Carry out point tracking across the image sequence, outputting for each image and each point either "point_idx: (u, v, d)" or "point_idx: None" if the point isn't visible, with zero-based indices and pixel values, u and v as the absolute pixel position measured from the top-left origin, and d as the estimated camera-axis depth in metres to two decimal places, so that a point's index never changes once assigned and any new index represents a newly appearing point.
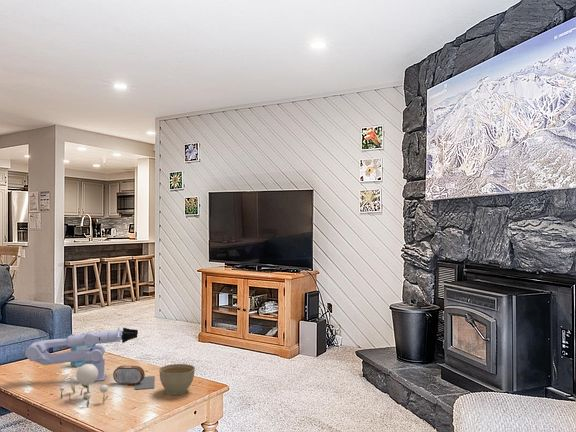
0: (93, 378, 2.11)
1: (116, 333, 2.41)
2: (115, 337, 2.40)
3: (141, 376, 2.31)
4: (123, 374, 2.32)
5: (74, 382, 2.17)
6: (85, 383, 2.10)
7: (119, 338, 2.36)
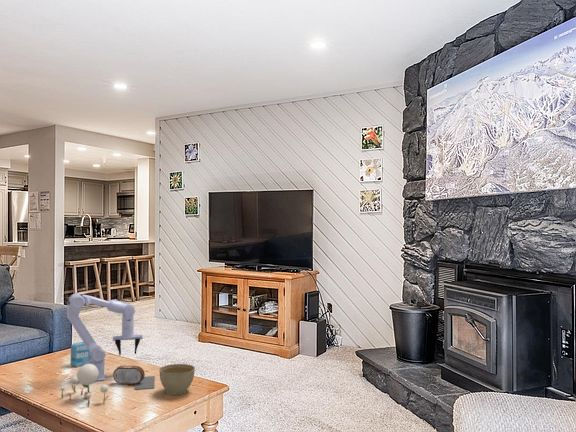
0: (93, 378, 2.11)
1: None
2: (133, 333, 2.49)
3: (141, 376, 2.31)
4: (123, 374, 2.32)
5: (75, 382, 2.17)
6: (86, 383, 2.10)
7: None
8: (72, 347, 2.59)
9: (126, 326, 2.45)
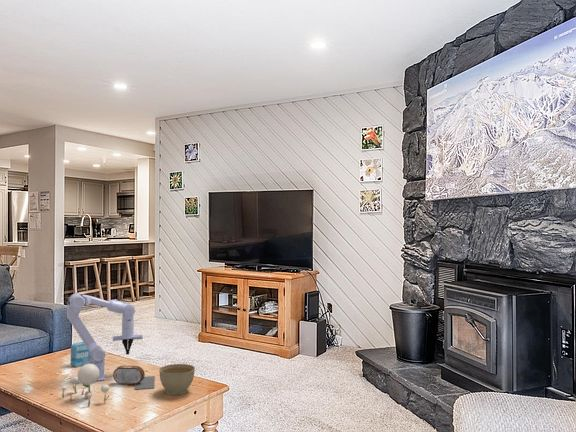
0: (94, 378, 2.11)
1: None
2: (133, 333, 2.49)
3: (141, 376, 2.31)
4: (123, 374, 2.32)
5: (75, 382, 2.18)
6: (86, 383, 2.10)
7: (142, 337, 2.50)
8: (72, 347, 2.59)
9: (126, 326, 2.45)
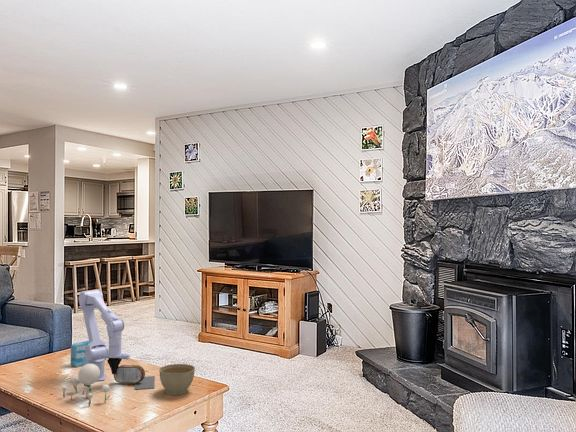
0: (95, 378, 2.12)
1: (120, 352, 2.32)
2: (120, 352, 2.31)
3: (141, 375, 2.31)
4: (124, 373, 2.32)
5: (76, 382, 2.18)
6: (87, 383, 2.10)
7: (129, 357, 2.30)
8: (72, 347, 2.59)
9: None
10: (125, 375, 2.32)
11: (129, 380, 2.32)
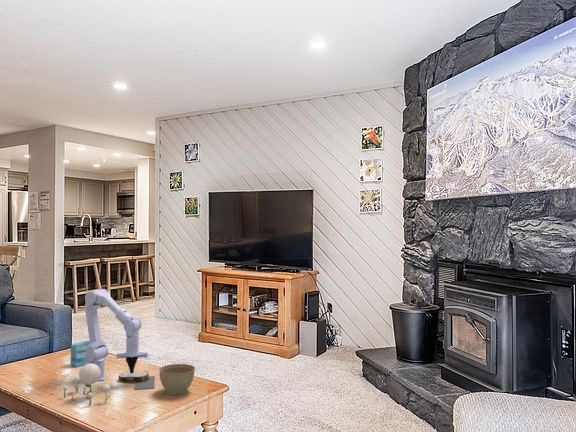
0: (95, 378, 2.12)
1: None
2: None
3: (146, 375, 2.38)
4: (130, 374, 2.39)
5: (77, 381, 2.18)
6: (87, 383, 2.11)
7: (147, 355, 2.34)
8: (72, 347, 2.59)
9: (126, 343, 2.31)
10: (130, 374, 2.38)
11: (132, 376, 2.36)
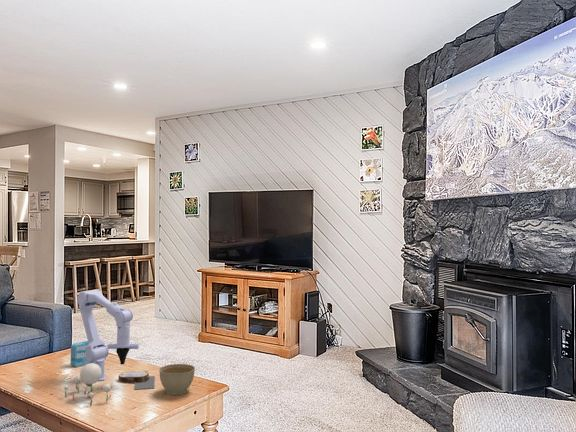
0: (96, 377, 2.12)
1: None
2: (128, 342, 2.32)
3: (146, 375, 2.38)
4: (130, 374, 2.39)
5: (78, 381, 2.19)
6: (89, 382, 2.11)
7: (138, 346, 2.32)
8: (72, 347, 2.59)
9: (117, 333, 2.31)
10: (130, 374, 2.38)
11: (132, 376, 2.36)
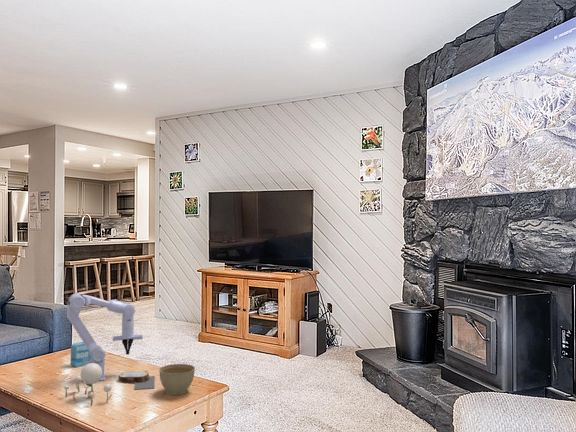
0: (97, 377, 2.12)
1: None
2: (133, 333, 2.49)
3: (146, 375, 2.38)
4: (130, 374, 2.39)
5: (79, 381, 2.19)
6: (89, 382, 2.11)
7: (142, 337, 2.50)
8: (72, 347, 2.59)
9: (126, 326, 2.45)
10: (130, 374, 2.38)
11: (132, 376, 2.36)
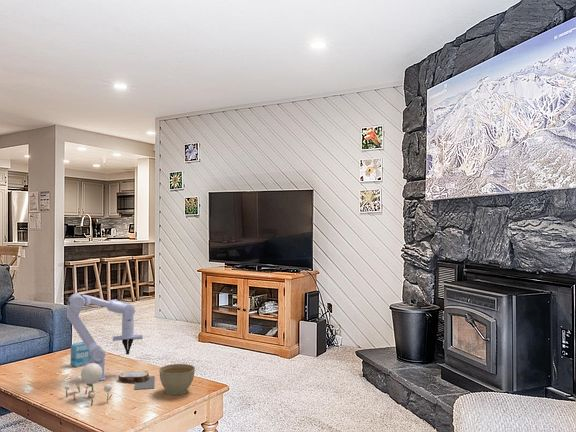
0: (97, 377, 2.12)
1: None
2: (133, 333, 2.49)
3: (146, 375, 2.38)
4: (130, 374, 2.39)
5: (79, 381, 2.19)
6: (89, 382, 2.11)
7: (142, 337, 2.50)
8: (72, 347, 2.59)
9: (126, 326, 2.45)
10: (130, 374, 2.38)
11: (132, 376, 2.36)
